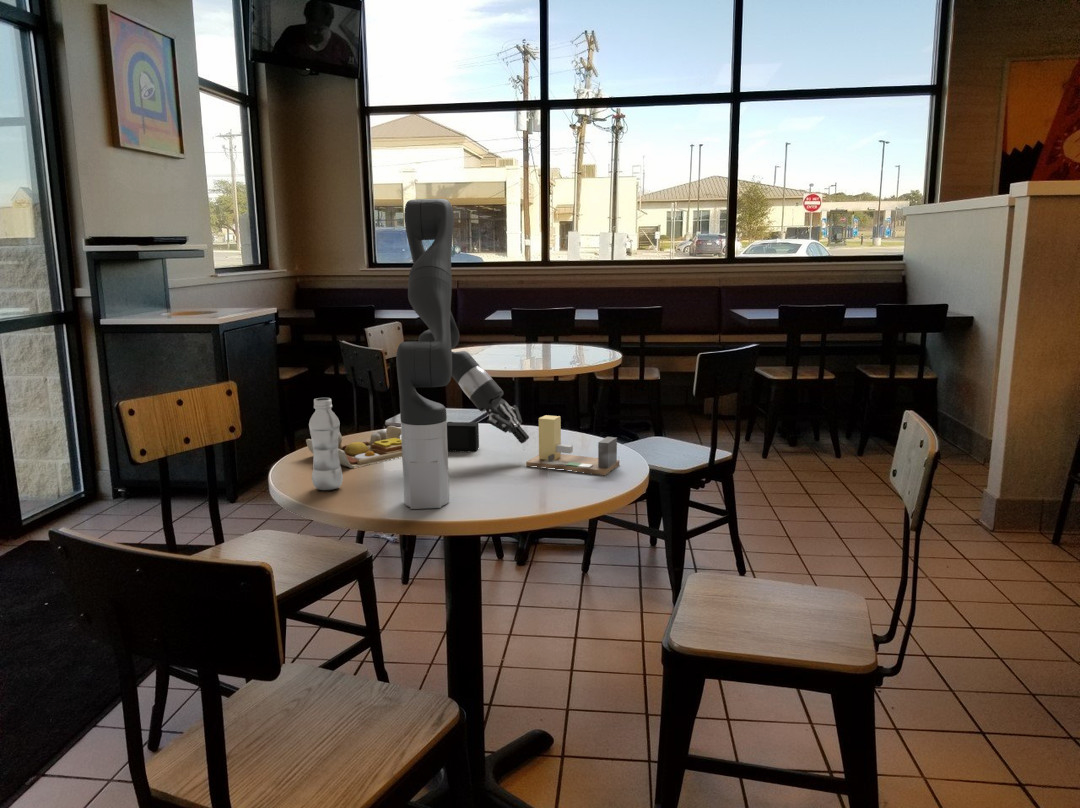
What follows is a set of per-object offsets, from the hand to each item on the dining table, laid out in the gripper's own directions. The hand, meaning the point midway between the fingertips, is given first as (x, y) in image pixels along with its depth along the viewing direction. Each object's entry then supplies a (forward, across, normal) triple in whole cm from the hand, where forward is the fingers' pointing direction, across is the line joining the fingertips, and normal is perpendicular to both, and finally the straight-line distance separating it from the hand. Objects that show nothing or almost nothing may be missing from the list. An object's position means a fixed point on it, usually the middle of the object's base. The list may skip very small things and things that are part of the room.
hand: (525, 440), depth 193 cm
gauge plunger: (+8, -1, -3) cm, 9 cm away
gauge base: (+12, 0, -5) cm, 13 cm away
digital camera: (-11, +4, +19) cm, 23 cm away
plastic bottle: (-17, -38, +25) cm, 49 cm away
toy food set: (-24, -10, +32) cm, 42 cm away
